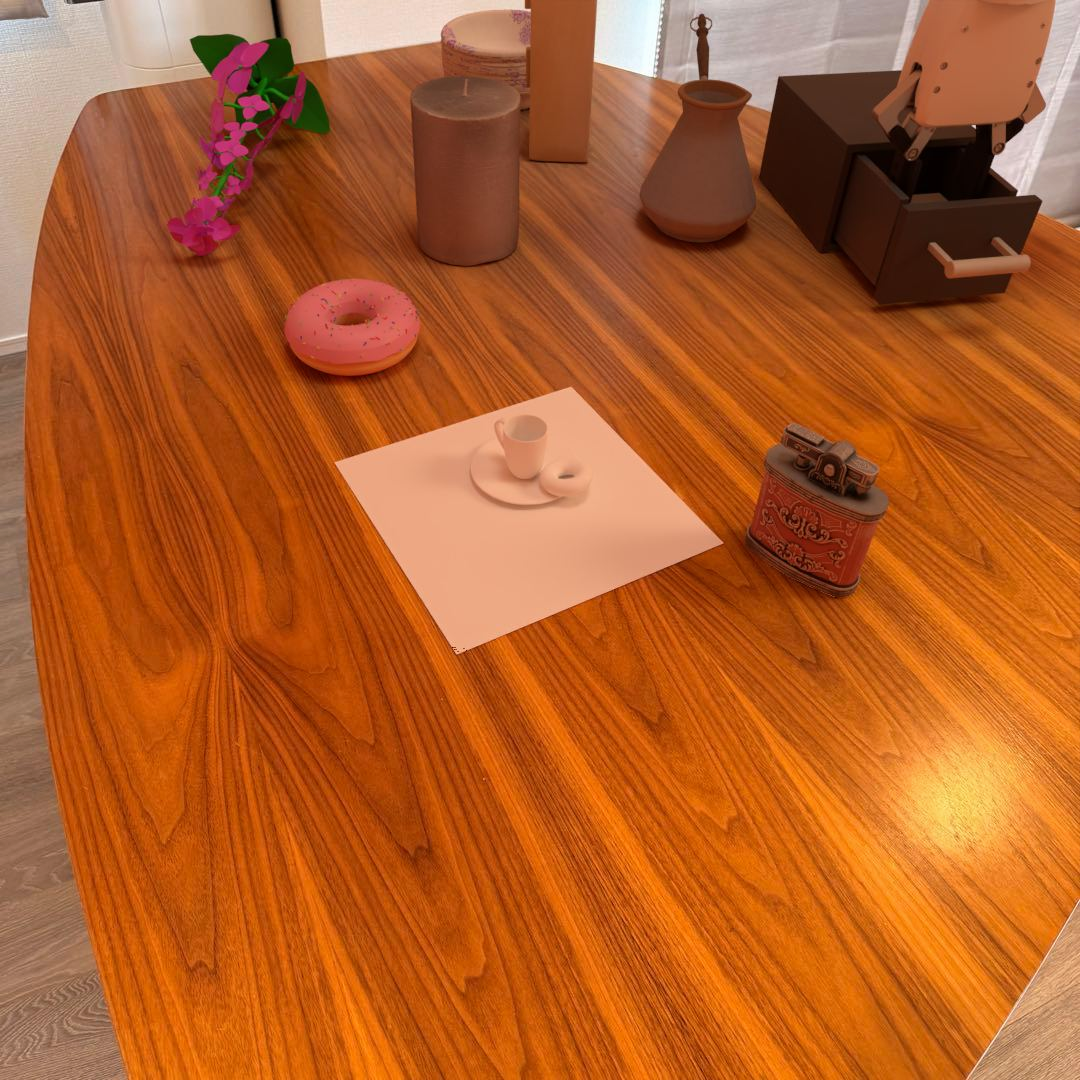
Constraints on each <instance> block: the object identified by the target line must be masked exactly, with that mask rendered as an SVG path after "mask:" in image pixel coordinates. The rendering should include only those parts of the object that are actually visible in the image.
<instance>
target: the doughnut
mask: <svg viewBox="0 0 1080 1080" xmlns="http://www.w3.org/2000/svg"><path fill="white" fill-rule="evenodd" d="M419 315H420V314H419V310H418V309H416V307H415V304H414V302H413V301H412V300H411V299H410V297H408V295H406V292H403V291H401V289H398V288H397V287H395V286H393V285H390V284H388V283H385V282H383V281H382V280H380V281H378V280H373V279H369V278H352V277H350V278H344V279H343V278H342V277H341V278H340V279H337V280H331V281H327V282H325V283H322V284H319V285H316V286H313V285H311V288H310V289H309V290H307V291H306V292H304V293H302V294H301V295H299V297H298V296H296V299H295V301H294V302H293V303H291V304H290V307H289V311H288V312H287V315H284V319H285V321H284V322H285V323H284V328H282V330H283V331H284V336H285V339H286V341H287V343H288V345H289V346H290V350H291V351H292V352H293V354H294V355H295V356H296V357H297V358H298V359H299V360H300V361H301V362H302V363H304V364H306V365H307V366H309V367H311V368H312V369H314V370H317V371H320V372H322V373H326V374H330V375H334V376H335V375H336V376H347V377H348V376H349V377H351V376H352V377H355V376H356V377H357V376H364V375H369V374H370V375H371V374H374V373H378V372H382V371H385V370H386V369H389V368H391V367H393V366H394V365H397V364H398V363H400V362H401V361H402V360H404V359H405V358H406V357H407V356H408V355H409V354H410V353H411V352H412V350H413V348H414V347H415V346H416V344H417V341H418V338H419V332H420V327H421V319H420V317H419Z"/></svg>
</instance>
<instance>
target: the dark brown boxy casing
mask: <svg viewBox="0 0 1080 1080" xmlns="http://www.w3.org/2000/svg"><path fill="white" fill-rule="evenodd" d="M901 71H902V69H900V70H899V69H898V70H880V71H879V70H877V71H858V72H840V73H839V72H838V73H837V72H836V73H835V72H834V73H817V74H797V75H779V76H777V83H776V87H775V91H774V92H775V93H774V96H773V102H772V107H771V113H770V118H769V123H768V127H767V134H766V138H765V139H766V140H765V143H764V149H763V154H762V159H761V164H760V168H759V175H758V179H759V180H760V181H761V183H762V184H763V185H764V186H765V187H766V189H767V190H768V191H769V192H770V194H771V195H772V196H773V197H774V199H776V201H777V202H778V203H779V205H780V206H781V207H782V208H783V209H784V211H785V212H786V214H788V216H789V217H790V218H791V219H792V221H793V222H794V223H795V224H796V225H797V226H798V228H799V229H800V230H801V231H802V233H803V234H804V235H805V237H807V239H808V240H809V241H810V242H811V244H812V245H813V247H815V249H816V250H817V251H818V252H819V253H820V254H825V253H838V252H845V251H844V250H843V249H842V248H841V246H840V245H839V244H838V243H837V242H836V241H835V239H834V238H833V237H832V233H833V229H834V225H835V221H836V218H837V214H838V210H839V206H840V202H841V198H842V194H843V191H844V187H845V183H846V179H847V175H848V171H849V168H850V164H851V160H852V156H853V153H854V152H870V151H886V150H896V149H895V148H894V147H893V146H892V143H891V142H890V140H889V139H888V138H887V136H886V135H885V133H884V131H883V129H882V128H881V127H880V126H879V124H878V123H877V122H876V120H875V119H874V117H873V116H872V111H873V109H874V108H875V107H876V106H877V105H878V104H879V103H880V102H881V101H882V100H883V99H884V98H886V97H887V96H888V95H889V94H890V93H891V92H892V91H893V90H894V89H895V88H896V87H897V84H898V81H899V78H900V75H901ZM910 111H911V110H901V111H900V113H899V114H898V116H897V119H898V121H899V123H900V124H901V125H902V124H903V122H904V121H905V119H906V117H907V116H908V114H909V113H910ZM918 128H919V126H918ZM918 128H917V129H916V131H917V130H918ZM916 131H915V132H914V134H913V136H914V135H915V133H916ZM913 136H912V137H911V139H912V138H913ZM971 141H976V127H974V125H970V126H954V127H937V128H936V130H935V131H934V133H933V134H932V136H931V138H930V139H929V141H928V142H927V144H926V145H925V147H924V148H933V147H948V146H965V147H967V145H968V144H969V142H971Z"/></svg>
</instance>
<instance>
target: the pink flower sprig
mask: <svg viewBox="0 0 1080 1080" xmlns="http://www.w3.org/2000/svg"><path fill="white" fill-rule="evenodd" d="M189 42H190V45H191V48H192V51H193V52H194V54H195V55H196V56H197V58H198V59H199V61H200V63H202V65H203V67H204V68H205V70H206V72H207V73H208V74H209V75H210V77H211V80H213V81H216V82H218V86H217V98H216V97H214V99H213V101H212V103H211V109H210V123H209V124H210V125H209V128H210V136H211V139H212V140H210V141H208V143H207V142H206V141H205V140H204V138H203V137H202V136H200V135H199V142H200V146H201V148H202V150H203V151H204V153H205V154H206V155H207V157H208V159H209V161H210V162H209V164H208V165H207V167H206V169H205V170H204V171H203V170H202V168H201V166H200V165H199V166H198V182H197V184H198V191H200V192H201V191H202V190H203V191H206V190H207V188H208V187H209V185H210V187H211V188H212V189H214V190H213V192H212V194H211V196H206V195H203V196H202V197H201V198H197V199H196V196H194V197H192V203H191V204H190V208H189V209H188V210H187V211H186V212H185V213H184V216H183V218H184V221H183V220H182V218H180V217H176V216H175V217H173V218H172V217H171V218H170V219H169V220H168V221H167V223H166V227H167V229H168V231H169V235H170V236H171V237H172V239H173V240H174V241H176V242H177V243H180V244H182V245H183V246H186V247H187V248H188V249H189V250H190V251H191V252H194V253H195V255H196V256H198V257H202V256H206V255H208V254H211V253H212V252H214V251H215V250H216V249H217V248H218V246H219V243H218V242H217V241H219V242H225V241H228V240H230V239H232V238H233V237H234V236H235V235H236V234H237V233H238V232H239V230H240V228H241V225H239V224H231V225H230V223H229V222H228V221H227V220H226V219H225V218H224V216H225V214H227V213H226V212H227V209H228V208H229V207H230V205H232V204H233V203H234V202H235V201H236V199H237V197H236V196H234V197H232V198H228V197H225V198H224V195H227V196H232V195H233V194H237V195H240V194H241V191H243V190H244V189H245V191H246V192H247V191H248V190H249V189H250V186H251V185H252V180H253V179H252V177H253V175H254V167H253V161H254V159H255V157H256V155H259V154H260V153H261V152H262V150H263V149H264V148H265V147H266V146H267V145H268V144H269V143H270V141H272V139H273V137H274V134H275V132H276V131H277V130H278V128H279V127H280V125H281V124H282V121H283V120H284V121H285V122H286V124H287V125H289V126H290V127H292V128H294V129H299V130H305V131H310V132H313V133H317V134H320V135H324V134H327V133H331V126H330V118H329V115H328V113H327V110H326V107H325V105H324V101H323V99H322V97H321V96H322V95H321V94H320V92H319V90H318V88H317V86H315V85H314V83H313V82H312V81H310V79H308V78H307V77H306V74H305V72H304V71H303V70H300V72H299V74H292V75H289V74H290V73H291V72H292V71H293V70H294V67H295V61H294V56H293V52H292V44H291V42H290V41H289V39H288V38H287V37H286V38H285V37H278V36H277V37H273V38H268V39H264V40H261V41H259V42H254V43H251V44H250V42H249V41H247V39H246V38H244V37H242V36H240V35H235V34H232V33H221V34H211V35H210V34H209V35H208V34H207V35H206V34H205V35H203V34H199V35H196V36H194V37H192V38H190V39H189ZM227 87H228V89H229V90H230V91H231V92H233V93H234V94H238V95H237V96H236V98H235V101H234V103H233V102H224V100H223V98H224V96H225V92H226V88H227ZM217 99H218V100H220V102H219V101H218V100H217ZM273 105H274V106H273ZM224 107H230V108H233V109H234V113H235V114H234V115H235V121H230V122H227V123H225V118H224V117H225V115H224ZM274 107H275V110H276V112H275V110H274ZM224 123H225V124H224ZM266 127H270V128H271V127H272V128H271V129H270V131H269V132H268V134H267V135H266V136H263V135H262V134H261V133H260V130H262V129H264V128H266ZM224 129H225V130H227V131H229V136H228V135H227V136H225V135H224V133H222V131H223V130H224ZM253 133H256V135H257V136H258V137H259V138H260V139H261V141H260V142H258V144H257V145H255V147H254V148H253V149H252V150H251V151H250V155H251V157H250V158H247V156H246V155H247V154H249V149H248V148H247V147H246V146H245V145H243V142H244V140H245V138H246V136H248V135H251V134H253ZM237 157H242V158H243V159H244V160H246V161H247V163H246V164H245V166H244V170H245V171H244V174H246V176H242V175H241V174H239V173H237V167H236V166H235V162H236V159H237ZM212 164H213V165H214V166H215V168H217V169H218V170H220V169H222V170H223V171H222V174H221V175H219V176H217V175H218V173H217V172H214V171H213V165H212ZM232 170H233V172H232ZM202 171H203V172H202ZM213 181H218V182H217V184H216V186H214V184H213V183H212V182H213ZM220 196H221V200H220ZM220 211H221V212H223V213H222V214H221V215H220V214H218V213H217V212H220ZM216 216H217V218H215V219H213V218H214V217H216ZM212 219H213V220H212ZM184 222H185V223H184Z"/></svg>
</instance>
